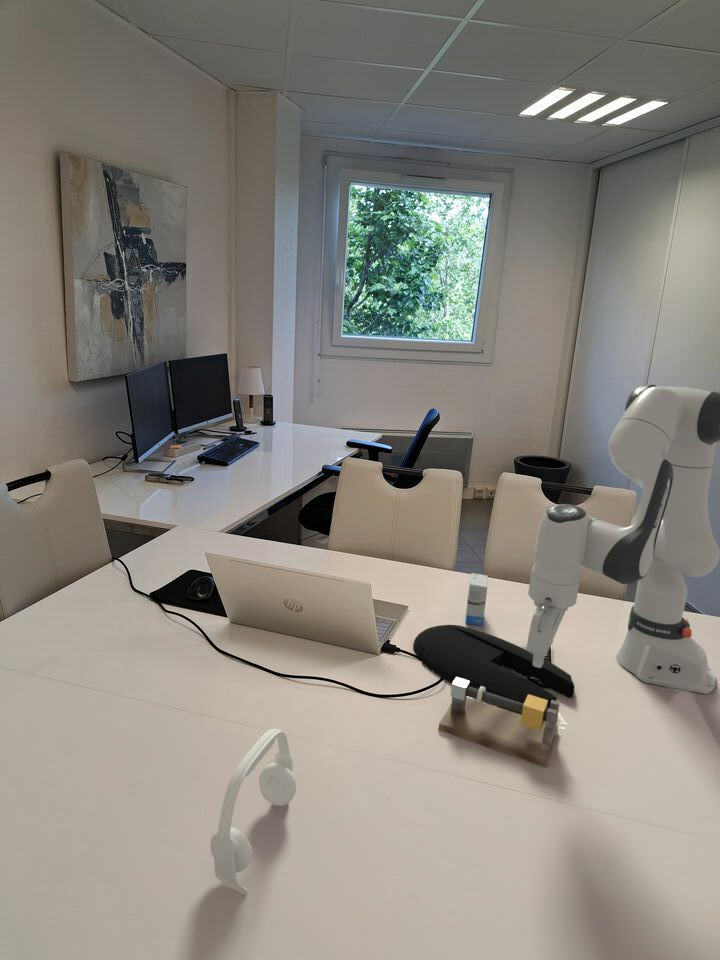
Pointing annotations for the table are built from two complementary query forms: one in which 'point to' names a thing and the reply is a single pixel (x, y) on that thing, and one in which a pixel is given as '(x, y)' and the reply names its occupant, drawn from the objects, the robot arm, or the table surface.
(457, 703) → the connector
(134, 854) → the table surface
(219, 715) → the table surface
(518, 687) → the black u-shaped plate
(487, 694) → the dark grey rod
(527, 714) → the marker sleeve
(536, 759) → the slider rail assembly
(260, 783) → the headset
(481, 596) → the ink box
